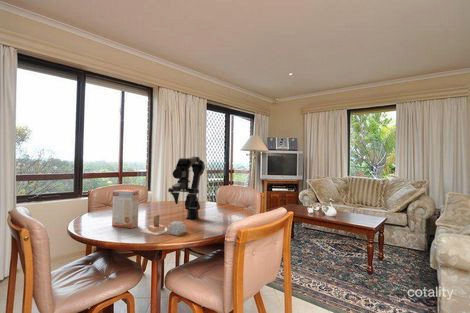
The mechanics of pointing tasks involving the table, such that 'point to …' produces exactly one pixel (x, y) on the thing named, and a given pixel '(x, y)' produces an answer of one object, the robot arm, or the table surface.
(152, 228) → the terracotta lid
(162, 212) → the table surface
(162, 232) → the cream mat
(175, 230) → the grey rock
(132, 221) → the cracker box
